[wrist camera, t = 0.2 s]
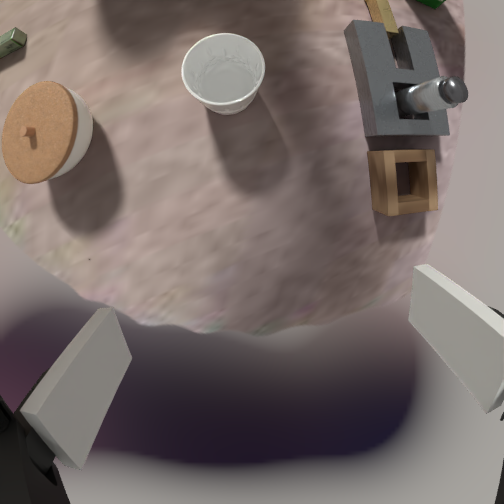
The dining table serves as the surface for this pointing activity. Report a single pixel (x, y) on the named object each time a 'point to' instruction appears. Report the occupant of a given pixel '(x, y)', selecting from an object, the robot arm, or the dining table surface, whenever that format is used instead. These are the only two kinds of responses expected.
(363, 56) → the socket block
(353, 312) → the dining table surface
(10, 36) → the medication box
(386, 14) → the bar
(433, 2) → the milk carton
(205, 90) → the white cup
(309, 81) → the dining table surface
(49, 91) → the lidded bowl
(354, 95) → the dining table surface
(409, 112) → the grey cylindrical rod
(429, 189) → the tan wooden open box
